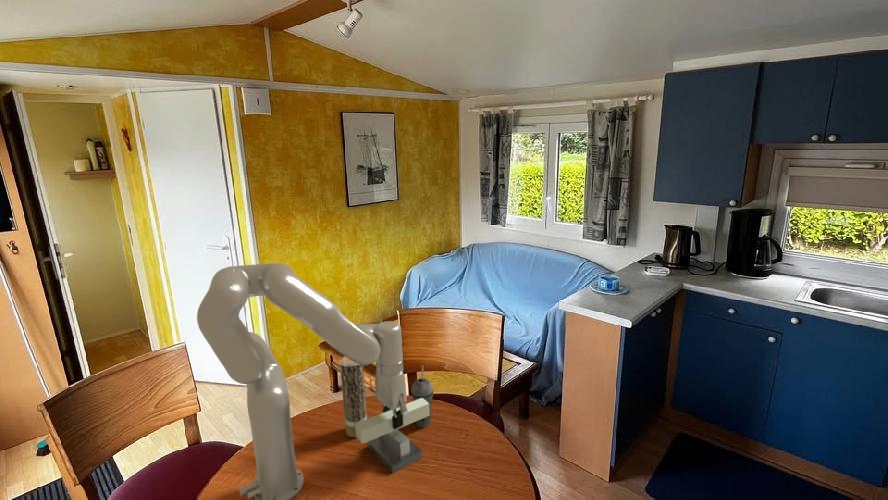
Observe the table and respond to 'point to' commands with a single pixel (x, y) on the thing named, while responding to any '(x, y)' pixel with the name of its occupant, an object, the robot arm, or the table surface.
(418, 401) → the batten
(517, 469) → the table surface
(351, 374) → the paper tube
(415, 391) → the beverage cup
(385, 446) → the ridge stand
